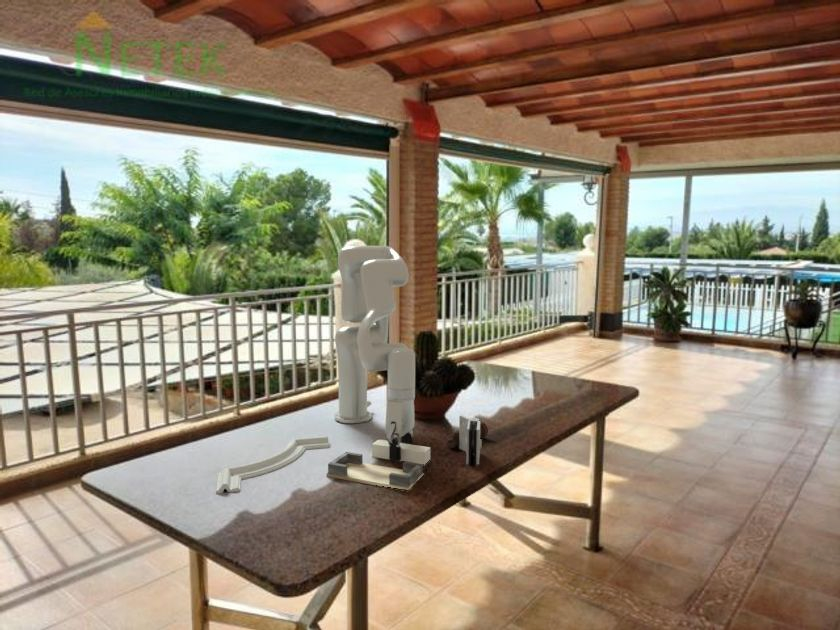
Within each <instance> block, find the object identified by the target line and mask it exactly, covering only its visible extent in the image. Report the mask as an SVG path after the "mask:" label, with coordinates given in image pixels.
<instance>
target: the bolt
mask: <svg viewBox="0 0 840 630" xmlns="http://www.w3.org/2000/svg"><path fill="white" fill-rule="evenodd" d="M479 421H480V438H482V440H483V438H484V439H486V437H487V436H488V434H489V428H488V426H487V424H486V423H485V422H484V421H481V420H479ZM446 442H447V445H448V446H449V447H450V448H452V449H453V448H456V447H459V430H456V431H455V432H454V433H453V435H452V436H450V437H448V438H447V441H446ZM463 445H464V444H463Z"/></svg>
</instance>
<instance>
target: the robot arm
mask: <svg viewBox="0 0 840 630" xmlns="http://www.w3.org/2000/svg"><path fill="white" fill-rule="evenodd" d="M337 266H338V270H339V273H340V274H339V275H340V276H341V298H340V299H341V302H340V312H341V319H342V320H343V321H344V322H346V323H349V324H359V325H346V326H342V327H341V328H339V329H338V330H337V331H336V333H335V336H334V342H335V349H336V352H337V353H336V354H337V364H338V365H337V367H338V371H337V372H338V412H336V413H335V414H334V416H333V417H334V420H335V421H337V422H338V421H339V423H343V424H361V423H365V422H368V421H370V420H371V419H372V418H373V417H372V415H373V414H372V412H370V411H368V407H371V406H372V402H371V401H370V400H368V372H382V371H387V403H386V411H385V436H386V439H387V441H388V443H389V459H390V460H391V461H395V460H396V461H395V462H401V461H400V460H401V446H399V445H400V443H405V444H411V445H414V444H413V442H414V440H413V436H414V432H413V430H414V428H415V417H416V416H415V404H414V402H415V398H416V353H415V351H414V349H412V348H408V346H407V345H406V344H405V343H403V342H391V343H388V339H389V338H388V335H389V324H390V323H389V321H390V315H392V314H393V313H394V312H395V311H396V309H397V308H396V307H397V305H396V301H395V296H394V291H393V290H394V289H393V288H395V287H396V288H397V287H404V286H406V285H407V284H408V282H409V275H410V273H409V268H408V266H407V263H406V262H405V260H404V259H403V257H402V256H401V255H400V254H399V253H398V252H397V251H396V250H395V249H394V248H393V247H391V246H388V245H348V246H345V247H342V248H341V249H340V251H339V252H338V255H337ZM395 438H397V439H395ZM389 459H388V460H389ZM390 460H389V461H390Z"/></svg>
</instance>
